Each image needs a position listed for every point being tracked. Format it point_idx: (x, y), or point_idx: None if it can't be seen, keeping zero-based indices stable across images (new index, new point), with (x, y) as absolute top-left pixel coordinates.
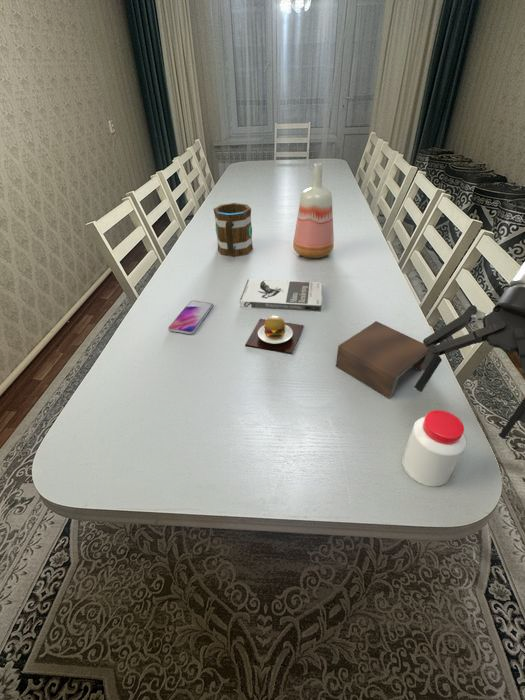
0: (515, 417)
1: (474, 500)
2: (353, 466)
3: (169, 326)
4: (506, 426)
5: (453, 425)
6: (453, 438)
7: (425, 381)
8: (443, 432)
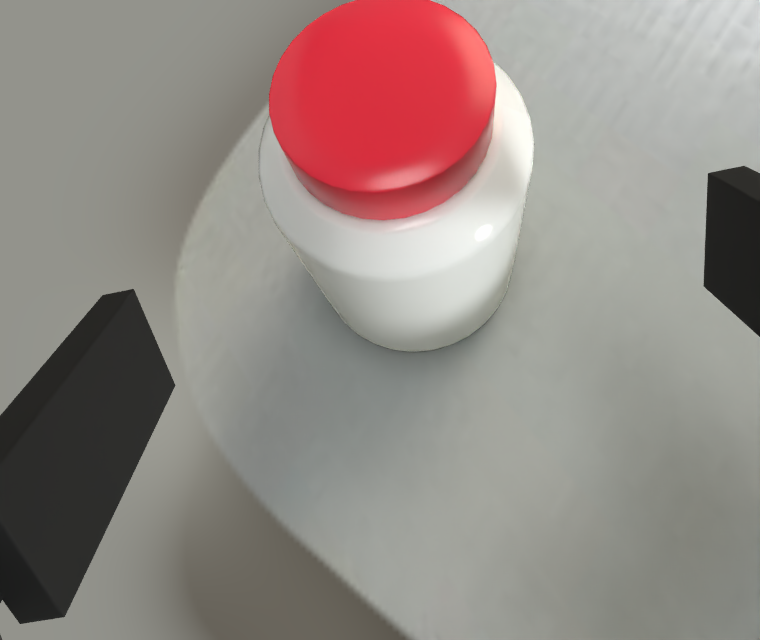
0: (50, 373)
1: (219, 295)
2: (563, 31)
3: None
4: (101, 323)
5: (337, 118)
6: (283, 56)
7: (748, 255)
8: (340, 38)
